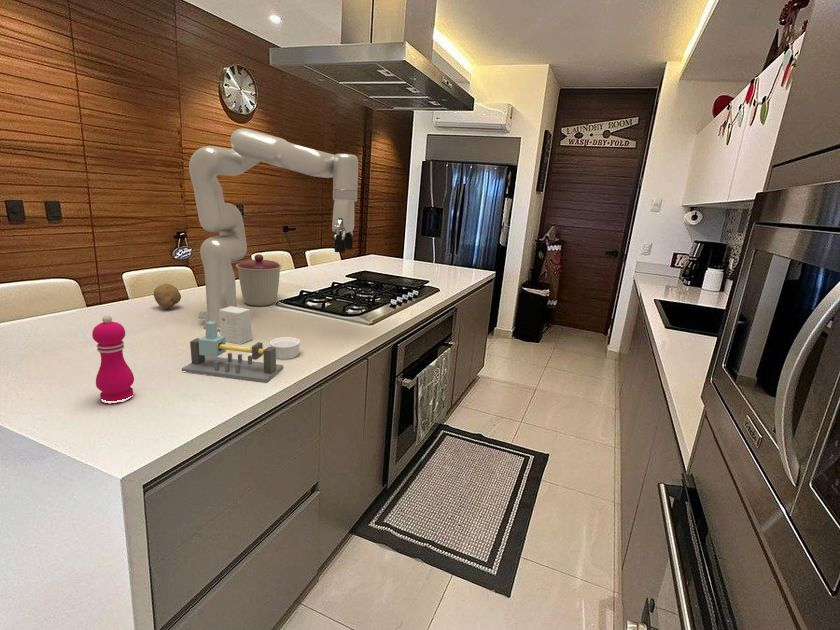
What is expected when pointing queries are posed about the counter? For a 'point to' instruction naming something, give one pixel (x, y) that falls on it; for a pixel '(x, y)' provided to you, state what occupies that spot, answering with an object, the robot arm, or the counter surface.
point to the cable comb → (235, 363)
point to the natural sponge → (166, 295)
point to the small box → (235, 324)
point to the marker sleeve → (211, 341)
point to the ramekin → (286, 347)
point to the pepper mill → (112, 361)
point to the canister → (259, 281)
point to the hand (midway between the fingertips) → (343, 250)
